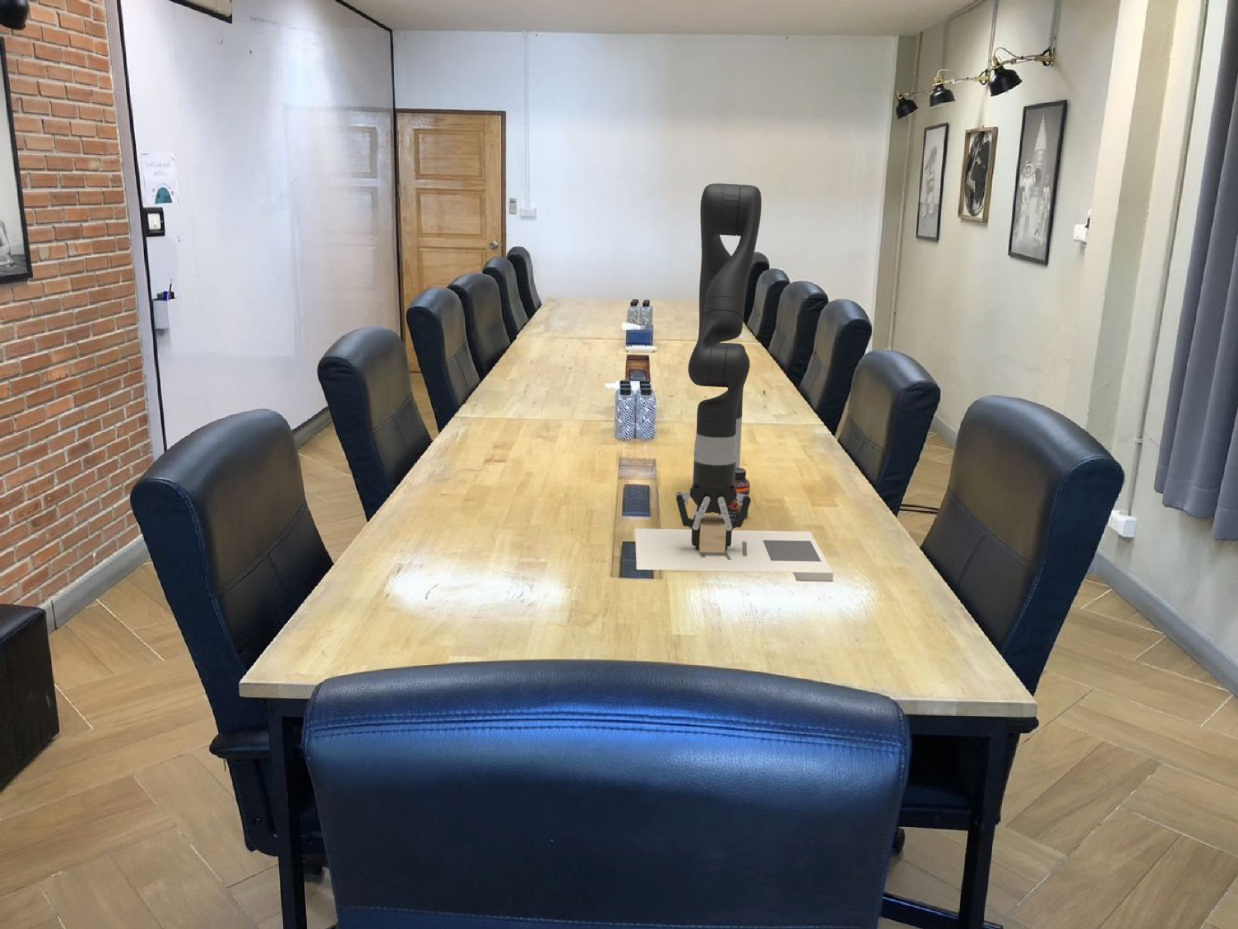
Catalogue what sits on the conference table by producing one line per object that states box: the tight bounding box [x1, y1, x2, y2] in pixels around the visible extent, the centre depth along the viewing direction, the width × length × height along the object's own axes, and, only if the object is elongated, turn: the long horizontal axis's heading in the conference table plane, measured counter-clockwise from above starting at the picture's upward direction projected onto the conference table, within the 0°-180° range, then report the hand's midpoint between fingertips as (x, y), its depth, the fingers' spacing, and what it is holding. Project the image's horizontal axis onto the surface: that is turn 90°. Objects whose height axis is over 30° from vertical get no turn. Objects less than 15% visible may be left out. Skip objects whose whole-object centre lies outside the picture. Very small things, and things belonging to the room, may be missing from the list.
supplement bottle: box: [718, 467, 751, 521], centre depth 205 cm, size 6×6×11 cm
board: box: [634, 528, 834, 582], centre depth 187 cm, size 22×34×2 cm, turn 90°
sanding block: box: [699, 513, 726, 556], centre depth 186 cm, size 7×4×6 cm, turn 0°
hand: (710, 547), depth 187 cm, fingers closed on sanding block, 4 cm apart
